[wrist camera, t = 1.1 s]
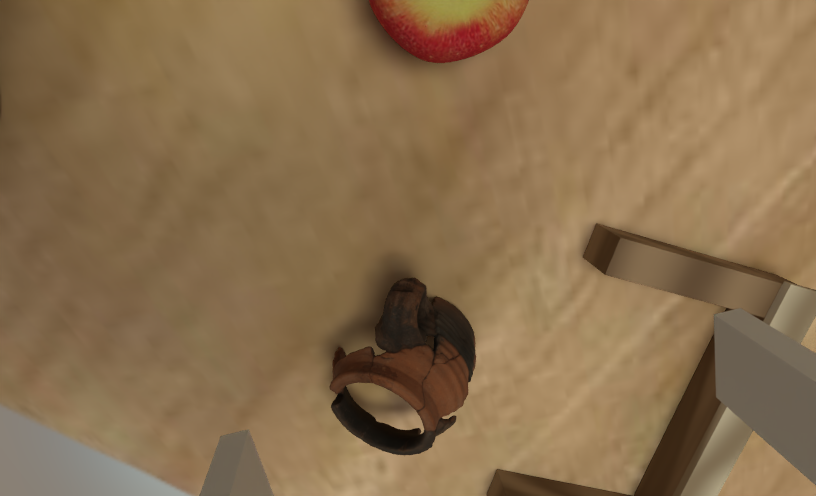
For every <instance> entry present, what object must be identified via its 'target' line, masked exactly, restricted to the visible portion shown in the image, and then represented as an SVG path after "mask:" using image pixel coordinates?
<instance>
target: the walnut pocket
mask: <svg viewBox="0 0 816 496" xmlns="http://www.w3.org/2000/svg"><path fill="white" fill-rule="evenodd" d="M583 258H584V259H586V260H587V261H588V262H590V263H591V264H592V265H593V266H595V267H596V268H597V269H598V270H600V271H601V272H602V273H604V274H605V275H608V276H612V277H615V278H619V279H623V280H627V281H630V282H634V283H638V284H641V285H645V286H649V287H652V288H656V289H660V290H664V291H667V292H671V293H675V294H678V295H682V296H686V297H689V298H693V299H697V300H701V301H704V302H708V303H712V304H715V305H719V306H723V307H726V308H727V309H726V311H730V310H734V309H738V308H741V309H743V310H744V311H746V312H748V313H749V314H751V315H753V316H754V317H756V318H758V319H759V320H761V321H763V322H764V323H766V324H768V325H769V326H771V327H773V328H774V329H776V330H778V331H779V332H781V333H783V334H784V335H786V336H788V337H789V338H791V339H793V340H794V341H796V342H798V343H799V344H801V342H802V340H803V338H804V337H805V335H806V333H807V331H808V329H809V327H810V326H811V324H812V322H813V320H814V318H815V316H816V290H814V289H810V288H807V287H803V286H800V285H797V284H795V283H793V282H791V281H788V280H786V279H784V278H782V277H780V276H778V275H775V274H771V273H768V272H764V271H761V270H757V269H754V268H750V267H747V266H743V265H740V264H736V263H733V262H729V261H726V260H722V259H719V258H715V257H712V256H708V255H705V254H701V253H698V252H694V251H691V250H687V249H684V248H680V247H677V246H673V245H670V244H666V243H663V242H659V241H656V240H652V239H649V238H646V237H642V236H639V235H635V234H632V233H628V232H625V231H621V230H618V229H614V228H611V227H607V226H604V225H600V224H596V226H595V229H594V231H593V234H592V236H591V239H590V241H589V244H588V246H587V249H586V251H585V254H584V256H583ZM726 311H725V312H726ZM752 432H753V429H751V428H750V427H749V426H748V425H747V424H746V423H745V422H743V421H742V420H741V419H740V418H739V417H738V416H737V415H736V414H734V413H733V412H732V411H731V410H730V409H729V408H728V407H727V406H725V405H724V404H723V403H722V402H721V401H720V400H719V399H717V398H716V377H715V338H714V335H713V337H712V339H711V341H710V343H709V345H708V347H707V349H706V351H705V353H704V355H703V357H702V359H701V361H700V363H699V366H698V368H697V370H696V372H695V374H694V376H693V378H692V380H691V382H690V384H689V386H688V388H687V390H686V392H685V394H684V396H683V398H682V400H681V402H680V404H679V406H678V408H677V410H676V412H675V414H674V416H673V418H672V420H671V422H670V424H669V426H668V428H667V430H666V432H665V434H664V436H663V438H662V440H661V442H660V444H659V446H658V448H657V450H656V452H655V454H654V456H653V458H652V460H651V462H650V464H649V466H648V468H647V470H646V472H645V475H644V477H643V479H642V481H641V483H640V485H639V487H638V489H637V491H636V493H635V495H634V496H718V494H719V492H720V490H721V488H722V487H723V485H724V483H725V481H726V479H727V477H728V476H729V474H730V472H731V470H732V468H733V466H734V465H735V463H736V461H737V459H738V457H739V455H740V454H741V452H742V450H743V448H744V446H745V445H746V443H747V441H748V439H749V437H750V435H751V434H752ZM487 496H630V495H625V494H620V493H615V492H609V491H604V490H599V489H594V488H589V487H584V486H579V485H574V484H569V483H564V482H559V481H554V480H549V479H544V478H539V477H533V476H528V475H523V474H518V473H513V472H508V471H503V470H498V469H497V471H496V473H495V476H494V478H493V481H492V483H491V486H490V488H489V491H488V493H487Z"/></svg>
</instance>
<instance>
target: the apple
mask: <svg viewBox="0 0 816 496" xmlns="http://www.w3.org/2000/svg"><path fill="white" fill-rule="evenodd" d="M528 1H529V0H369V2H370V5H371V8H372V10H373V12H374V14H375V16H376V17H377V19H378V21H379V22H380V24H381V25H382V27H383V28H384V29H385V30H386V32H387V33H388V34H389V35H390V36H391V37H392V38H393V39H394V40H395V41H396V42H397V43H398V44H399V45H400V46H401V47H402V48H404V49H405V50H406V51H407V52H409V53H410V54H412V55H414V56H415V57H417V58H419V59H422V60H424V61H428V62H434V63H445V62H453V61H458V60H462V59H466V58H469V57H472V56H474V55H477V54H479V53H481V52H484V51H485V50H487V49H489V48H491V47H493V46H494V45H496V44H498V43H499V42H501V41H502V40H503V39H504V38H506V37H507V36H508V35H509V34H510V33H511V31H512V30H513V29H514V27H515V26H516V25H517V23H518V22H519V20H520V18H521V17H522V15H523V13H524V11H525V9H526V6H527V4H528Z"/></svg>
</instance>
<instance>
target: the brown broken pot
mask: <svg viewBox="0 0 816 496" xmlns="http://www.w3.org/2000/svg"><path fill="white" fill-rule="evenodd" d="M375 332H376V337H375V341H376V343H377V345H378V347H380V348H381V349H383V350H386V352H385V353H383V354H381V355H377V356H375V355H374V354H375V353H374V350H373V348H372V347H365V348H363V349H360V350H358V351H356V352H352V353H350V354H349V355H347V356H346V355H345V352H344V351H343V349H342V348H341V347H339V348H338V350H337V351H336V352H335V358H334V360H333V381H332V382H331V385H330V390H332V391H333V392H335V393H336V394H338V395H337V397H336V399H335V400H334V401H333V403H332V405H331V408H332V411H333V412H334V414H335V415H336V417H337V419H338V420H339V421H340V422H341V423H342V425H343V426H345V427H346V429H347V430H349V431H350V432H351V433H352V434H353V435H355V436H356V437H358V438H360V439H362V440H363V441H364V442H366V443H367V444H369V445H370V446H372V447H376V448H378V449H380V450H382V451H385V452H389V453H392V454H397V455H413V454H420V453H421V452H424V451H426V450H428V449H429V448H431V447H432V444H433V442H434V440H435V437H436V436H437V435H439V434H441V433H443V432H444V431H445V430H447V429H448V428H450V427H451V426H452V425H453V424H454V423H455V421H456V416H452V417H450V418H449V419H443V418H441V417H443V416H447V415H449V414H450V413H452V412H455V411H456V410H457V409H458V408H460V407H462V406H463V403H464V400H465V399H466V397H467V395H468V382H470V381H471V377H472V375H473V371H474V369H475V362H476V355H475V336H474V332H473V329H472V327H471V325H470V323H469V321H468V320H467V319H466V318H465V316H464V315H463V314H462V313H461V311H459V310H458V309H457V308H456V307H455V306H453V305H451V304H450V303H448V302H447V301H445V300H443V299H441V298H439V297H435V299H434V301H433V304H431V302H430V301H429V300H428V297H427V293H426V286H425V285H424V284H423V283H421V282H420V281H419V280H418V279H416V278H404V279H401V280H400V281H397V282H396V283H395V284H394V285H393V286H392V288H391V290H390V292H389V293H388V296H387V298H386V302H385V306H384V312H383V315H382V317H381V319H380V321H379V322H378V324H377V325H376V327H375ZM426 336H434V349H433V350H432V349H431V347H430V346H429V345H427V344H425V342H426V340H427V337H426ZM357 382H361V383H374V384H376V385H379V386H382V387H384V388H386V389H388V390H390V391H392V392H394V393H395V394H397V395H399V396H400V397H402V398H403V399H404V400H405V401H407V402H408V403H409V404H410V405H411V406H412V407H413V408H414V409H415V410H417V413H418V415H419V416H420V418H421V420H422V422H423V426H424V429H425V430H424V432H423V433H422V434H420V433H421V430H420V428H415V429H412V430H400V429H396V428H394V427H392V426H390V425H388V424H384V423H380V422H377V421H376V419H375V417H373V416H372V415H371V414H370V413H368V412H366V411H365V410H364V409H362V408H361V407H360V406H359V405H358V404H357V403H356V402H355V401H354V400H353V398H352V397H351V395H350V393H349V392H348V389H347V387H346V385H348V384H351V383H357Z"/></svg>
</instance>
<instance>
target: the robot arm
mask: <svg viewBox="0 0 816 496" xmlns="http://www.w3.org/2000/svg"><path fill="white" fill-rule="evenodd" d="M714 338H715V377H716V398H717V399H719V400H720V401H721V402H722V403H723V404H724V405H725V406H727V407H728V408H729V409H730V410H731V411H732V412H733V413H734V414H736V415H737V416H738V417H739V418H740V419H741V420H742V421H743V422H745V423H746V424H747V425H748V426H749V427H750V428H751V429H753V430H754V431H755V432H756V433H757V434H758V435H759V436H760V437H762V438H763V439H764V440H765V441H766V442H767V443H768V444H769V445H771V446H772V447H773V448H774V449H775V450H776V451H777V452H779V453H780V454H781V455H782V456H783V457H784V458H785V459H786V460H788V461H789V462H790V463H791V464H792V465H793V466H794V467H795V468H797V469H798V470H799V471H800V472H801V473H802V474H803V475H805V476H806V477H807V478H808V479H809V480H810V481H811V482H812V483H814V484H815V485H816V353H814V352H813V351H811V350H809V349H808V348H806V347H804V346H803V345H801V344H799V343H798V342H796V341H794V340H793V339H791V338H789V337H788V336H786V335H784V334H783V333H781V332H779V331H778V330H776V329H774V328H773V327H771V326H769V325H768V324H766V323H764V322H763V321H761V320H759V319H758V318H756V317H754V316H753V315H751V314H749V313H748V312H746V311H744V310H743V309H741V308H738V309H734V310H730V311H726V312H722V313H718V314H714ZM200 496H274V494H273V492H272V489H271V487H270V484H269V481H268V479H267V476H266V473H265V471H264V468H263V465H262V463H261V460H260V458H259V455H258V452H257V450H256V447H255V444H254V442H253V439H252V436H251V434H250V431H249V429H248V430H243V431H239V432H235V433H231V434H227V435H223V436H221V437H220V440H219V443H218V445H217V448H216V451H215V454H214V457H213V459H212V462H211V465H210V468H209V471H208V473H207V476H206V479H205V482H204V485H203V487H202V490H201V493H200Z"/></svg>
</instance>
